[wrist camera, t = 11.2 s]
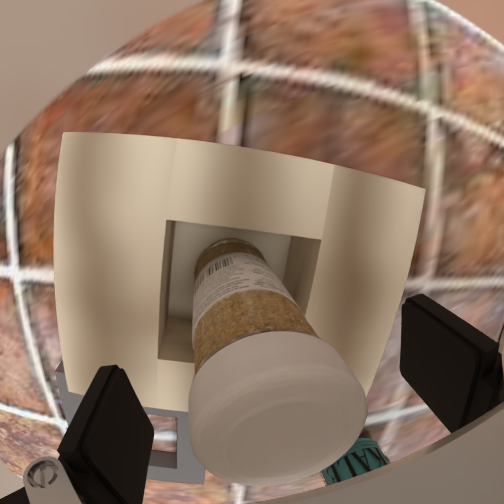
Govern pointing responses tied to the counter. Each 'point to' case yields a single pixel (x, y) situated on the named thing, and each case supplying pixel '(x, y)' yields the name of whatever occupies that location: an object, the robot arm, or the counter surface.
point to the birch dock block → (205, 234)
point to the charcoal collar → (161, 463)
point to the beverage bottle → (355, 462)
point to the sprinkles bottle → (263, 376)
